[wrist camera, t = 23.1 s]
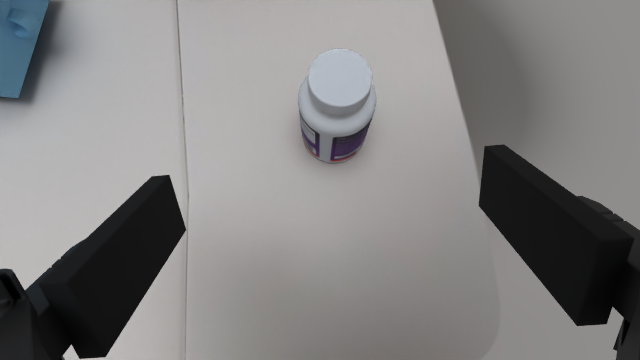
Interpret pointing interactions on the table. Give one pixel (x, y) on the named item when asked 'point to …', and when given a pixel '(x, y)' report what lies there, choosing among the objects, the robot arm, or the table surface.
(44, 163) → the table surface
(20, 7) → the teapot
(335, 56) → the pill bottle
